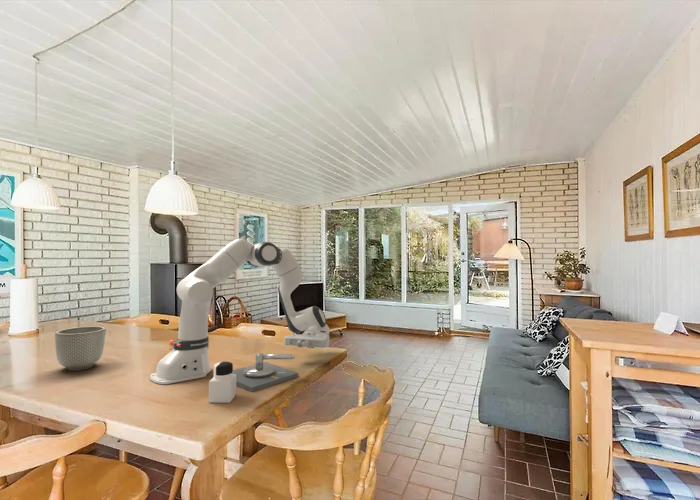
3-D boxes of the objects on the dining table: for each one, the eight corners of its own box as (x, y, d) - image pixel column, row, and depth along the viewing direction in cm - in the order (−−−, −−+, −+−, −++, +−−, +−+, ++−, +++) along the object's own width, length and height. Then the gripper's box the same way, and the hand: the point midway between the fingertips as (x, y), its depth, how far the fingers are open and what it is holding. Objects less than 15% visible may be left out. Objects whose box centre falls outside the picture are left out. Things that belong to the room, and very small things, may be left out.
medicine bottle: (236, 394, 125) (236, 360, 125) (230, 403, 118) (230, 366, 118) (215, 394, 125) (216, 359, 125) (208, 403, 118) (208, 366, 118)
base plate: (251, 391, 128) (251, 387, 128) (219, 377, 142) (219, 373, 142) (298, 376, 144) (298, 372, 145) (265, 365, 159) (265, 361, 159)
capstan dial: (240, 377, 137) (240, 358, 137) (247, 368, 149) (247, 350, 149) (293, 377, 138) (293, 358, 139) (295, 367, 150) (296, 350, 151)
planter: (114, 363, 158) (115, 327, 158) (75, 376, 142) (76, 335, 142) (84, 360, 163) (85, 324, 163) (43, 372, 146) (44, 332, 146)
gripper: (291, 329, 170) (277, 336, 157) (332, 332, 165) (322, 339, 152) (291, 343, 170) (277, 350, 157) (332, 346, 165) (322, 354, 152)
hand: (299, 345), depth 154 cm, fingers closed
